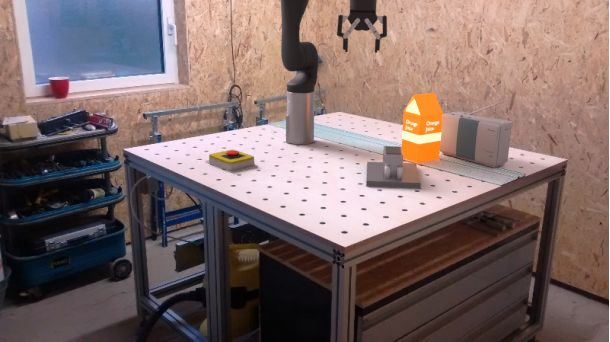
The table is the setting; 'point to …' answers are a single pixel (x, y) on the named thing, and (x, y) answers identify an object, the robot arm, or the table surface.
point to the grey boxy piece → (392, 159)
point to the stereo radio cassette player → (476, 137)
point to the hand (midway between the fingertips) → (361, 52)
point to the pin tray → (404, 179)
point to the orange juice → (422, 128)
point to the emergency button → (232, 160)
